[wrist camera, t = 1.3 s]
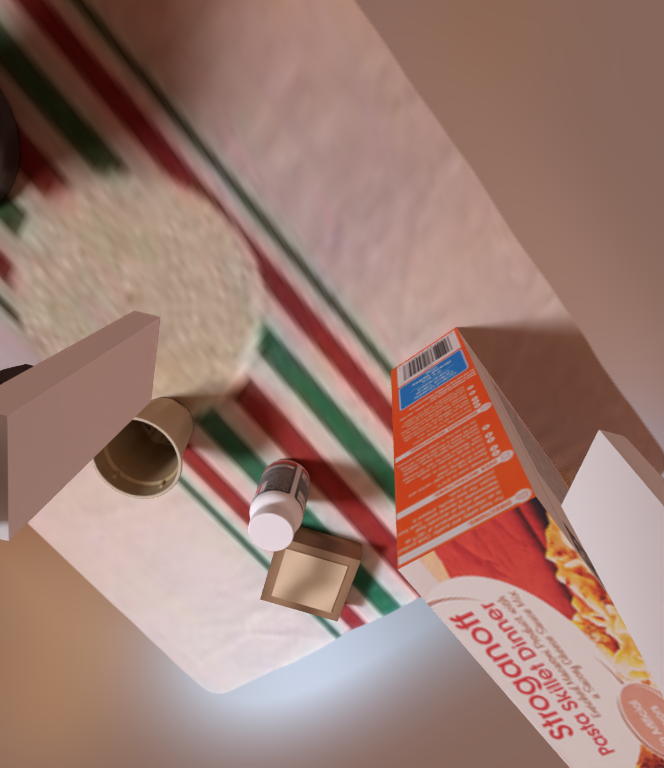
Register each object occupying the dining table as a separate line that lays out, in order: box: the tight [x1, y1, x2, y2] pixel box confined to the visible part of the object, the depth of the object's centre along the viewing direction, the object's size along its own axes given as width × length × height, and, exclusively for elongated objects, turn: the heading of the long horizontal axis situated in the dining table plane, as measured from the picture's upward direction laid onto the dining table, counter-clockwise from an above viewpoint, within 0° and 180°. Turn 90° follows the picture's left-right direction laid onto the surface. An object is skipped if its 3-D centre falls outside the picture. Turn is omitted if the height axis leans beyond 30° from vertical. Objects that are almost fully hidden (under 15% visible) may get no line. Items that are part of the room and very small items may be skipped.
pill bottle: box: [248, 460, 310, 551], centre depth 57 cm, size 6×6×10 cm
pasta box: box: [391, 327, 664, 768], centre depth 43 cm, size 23×8×30 cm, turn 38°
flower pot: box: [91, 398, 193, 499], centre depth 56 cm, size 9×9×9 cm
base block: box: [261, 526, 362, 621], centre depth 64 cm, size 10×10×3 cm
